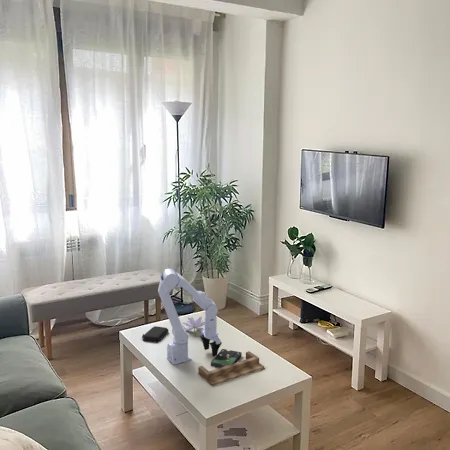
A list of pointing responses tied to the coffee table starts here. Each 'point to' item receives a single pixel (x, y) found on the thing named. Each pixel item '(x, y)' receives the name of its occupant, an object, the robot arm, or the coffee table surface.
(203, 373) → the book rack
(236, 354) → the disk drive
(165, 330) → the carrying case or bag
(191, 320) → the water lily
